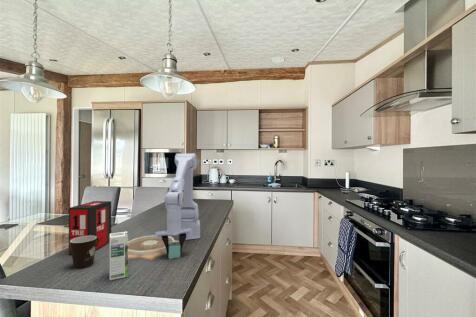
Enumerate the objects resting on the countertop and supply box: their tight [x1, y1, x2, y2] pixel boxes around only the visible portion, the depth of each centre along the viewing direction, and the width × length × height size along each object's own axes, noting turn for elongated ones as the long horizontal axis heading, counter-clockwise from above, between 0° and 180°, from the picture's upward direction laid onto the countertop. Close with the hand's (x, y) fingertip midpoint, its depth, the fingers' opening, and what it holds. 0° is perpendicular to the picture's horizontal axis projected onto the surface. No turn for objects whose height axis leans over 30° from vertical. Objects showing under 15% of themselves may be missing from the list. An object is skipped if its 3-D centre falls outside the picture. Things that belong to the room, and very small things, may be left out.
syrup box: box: [108, 230, 129, 281], centre depth 83 cm, size 6×6×14 cm
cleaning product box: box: [68, 200, 112, 256], centre depth 110 cm, size 16×9×20 cm, turn 178°
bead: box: [167, 242, 181, 260], centre depth 100 cm, size 4×4×5 cm
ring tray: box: [128, 234, 179, 261], centre depth 110 cm, size 30×30×2 cm
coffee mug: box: [70, 236, 99, 270], centre depth 93 cm, size 12×9×10 cm
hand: (173, 252), depth 100 cm, fingers closed on bead, 4 cm apart
